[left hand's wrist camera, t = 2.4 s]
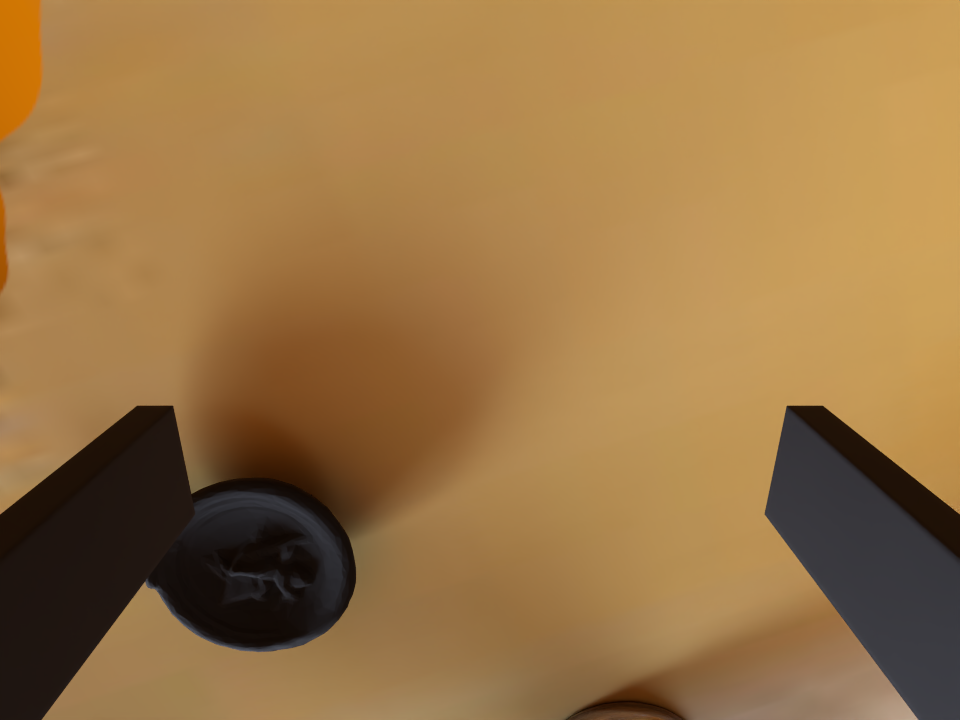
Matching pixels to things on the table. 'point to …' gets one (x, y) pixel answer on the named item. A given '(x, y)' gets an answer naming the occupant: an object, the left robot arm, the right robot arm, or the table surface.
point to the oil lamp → (257, 567)
